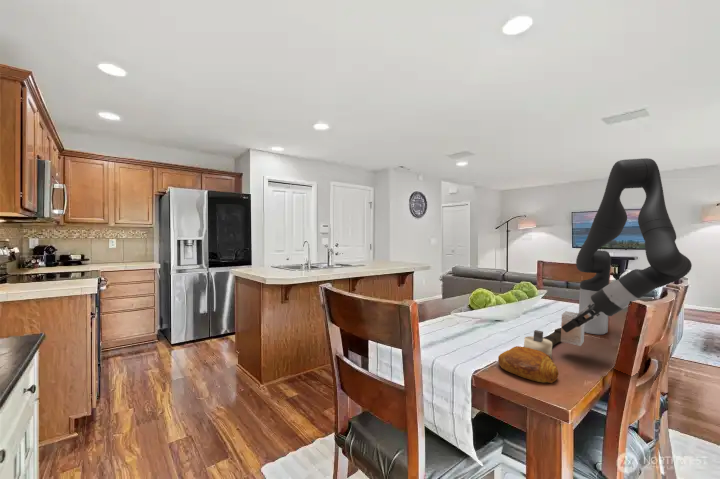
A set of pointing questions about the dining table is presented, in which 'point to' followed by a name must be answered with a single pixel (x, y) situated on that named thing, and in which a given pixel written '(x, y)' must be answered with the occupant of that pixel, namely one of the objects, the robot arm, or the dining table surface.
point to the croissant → (529, 364)
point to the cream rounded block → (539, 343)
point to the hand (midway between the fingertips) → (566, 327)
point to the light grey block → (575, 334)
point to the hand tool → (555, 336)
